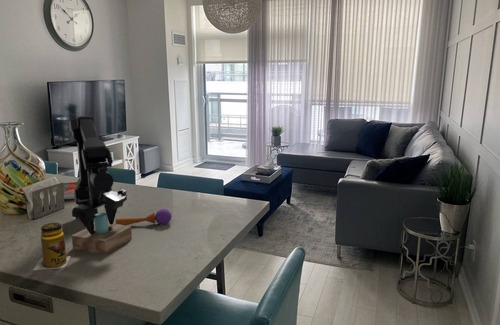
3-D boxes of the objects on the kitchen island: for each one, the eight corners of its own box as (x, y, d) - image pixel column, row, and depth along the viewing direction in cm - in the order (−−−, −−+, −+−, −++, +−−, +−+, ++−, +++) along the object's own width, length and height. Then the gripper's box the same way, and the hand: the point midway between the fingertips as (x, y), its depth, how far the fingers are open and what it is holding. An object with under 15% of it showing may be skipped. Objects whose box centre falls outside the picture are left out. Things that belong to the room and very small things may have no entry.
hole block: (72, 248, 121) (71, 235, 120) (100, 233, 133) (99, 221, 132) (106, 254, 117) (104, 241, 116) (131, 238, 129) (131, 226, 128)
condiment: (65, 267, 109) (60, 228, 106) (32, 271, 107) (27, 231, 105) (70, 256, 116) (66, 219, 113) (40, 259, 114) (35, 222, 112)
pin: (93, 242, 124) (91, 216, 122) (102, 237, 128) (99, 212, 126) (103, 243, 123) (101, 217, 121) (112, 238, 126) (109, 213, 124)
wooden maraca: (117, 213, 143) (170, 206, 146) (119, 229, 143) (172, 222, 146) (114, 216, 137) (169, 209, 140) (116, 232, 137) (171, 225, 140)
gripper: (98, 193, 110) (102, 243, 113) (136, 178, 127) (139, 222, 130) (68, 190, 113) (73, 238, 117) (109, 176, 131) (113, 218, 134)
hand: (102, 229), depth 124 cm, fingers open, 9 cm apart
